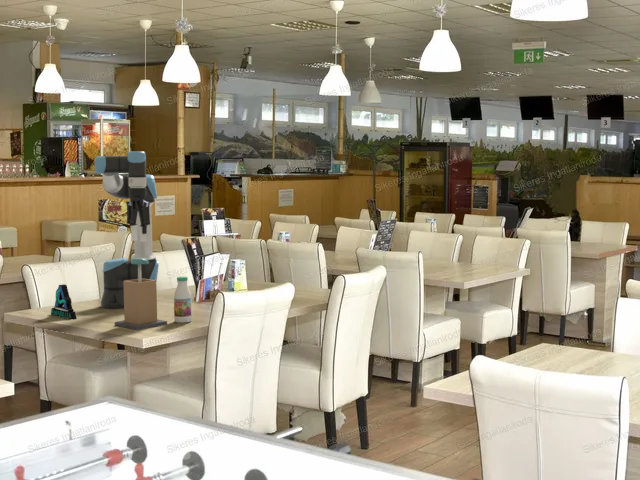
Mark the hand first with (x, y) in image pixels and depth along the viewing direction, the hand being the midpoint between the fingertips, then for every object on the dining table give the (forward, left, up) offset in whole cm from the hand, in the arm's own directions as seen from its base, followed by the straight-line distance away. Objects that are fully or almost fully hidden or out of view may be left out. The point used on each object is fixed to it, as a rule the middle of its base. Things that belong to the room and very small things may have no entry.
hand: (138, 240), depth 387 cm
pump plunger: (+1, 0, -27) cm, 27 cm away
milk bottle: (+8, +17, -37) cm, 42 cm away
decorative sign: (-44, -11, -37) cm, 59 cm away
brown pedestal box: (0, 0, -37) cm, 37 cm away
